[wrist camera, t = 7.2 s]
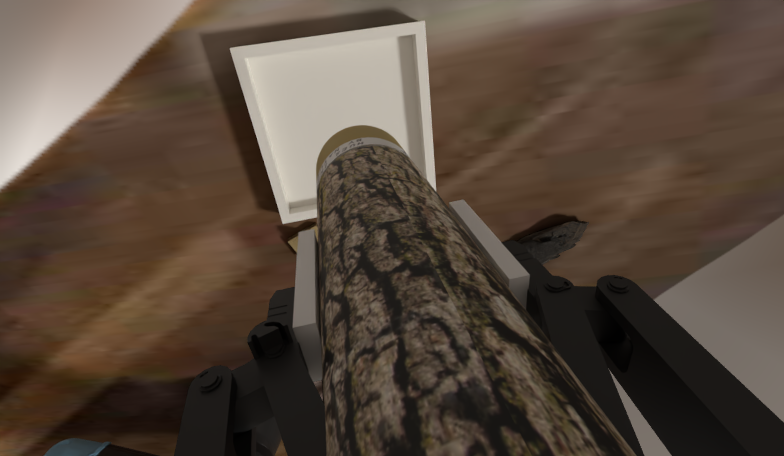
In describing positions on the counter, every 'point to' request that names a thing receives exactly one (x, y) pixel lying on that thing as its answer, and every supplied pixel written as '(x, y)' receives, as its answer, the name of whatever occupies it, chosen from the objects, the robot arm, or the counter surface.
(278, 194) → the ceramic dish
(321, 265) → the paper tube
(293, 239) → the tan short block
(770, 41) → the counter surface
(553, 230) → the wood
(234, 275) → the counter surface
